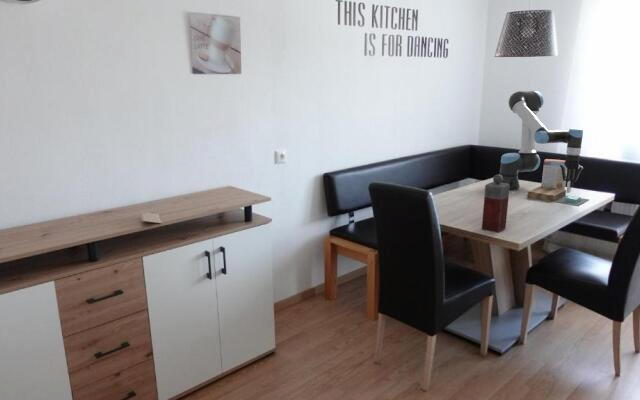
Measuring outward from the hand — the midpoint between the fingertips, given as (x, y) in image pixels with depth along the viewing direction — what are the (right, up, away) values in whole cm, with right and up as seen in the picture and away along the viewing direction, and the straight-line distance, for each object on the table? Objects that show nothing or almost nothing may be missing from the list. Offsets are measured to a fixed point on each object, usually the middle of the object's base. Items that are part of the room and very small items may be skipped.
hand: (568, 192), depth 294 cm
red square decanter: (-64, -19, -51) cm, 84 cm away
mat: (+2, -5, 0) cm, 6 cm away
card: (+2, -3, -1) cm, 4 cm away
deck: (-9, -3, +10) cm, 14 cm away
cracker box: (+3, +1, +25) cm, 25 cm away
